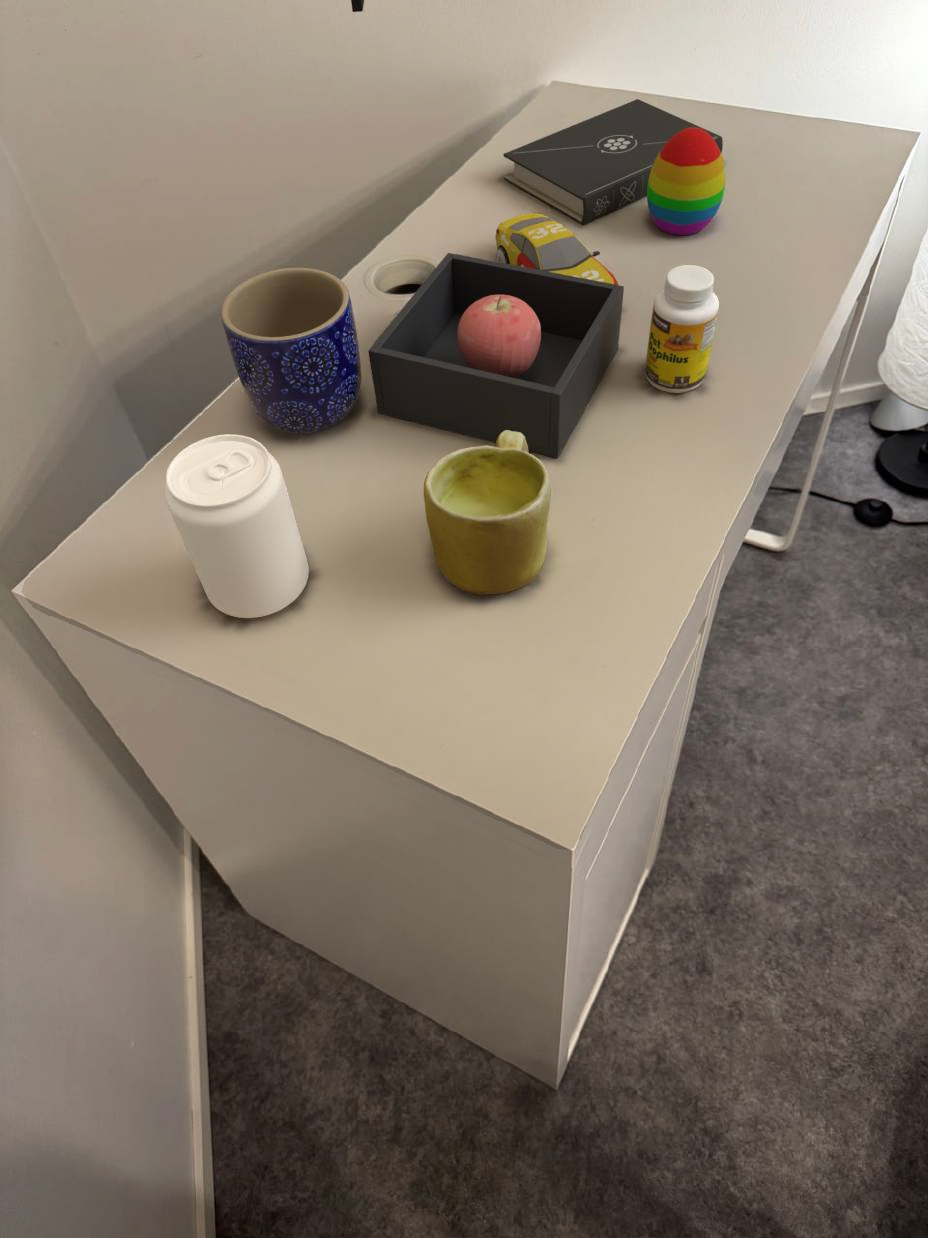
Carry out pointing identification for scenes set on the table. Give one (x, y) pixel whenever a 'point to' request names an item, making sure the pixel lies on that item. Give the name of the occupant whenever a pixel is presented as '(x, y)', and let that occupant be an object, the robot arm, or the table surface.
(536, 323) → the apple
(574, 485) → the table surface
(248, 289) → the planter
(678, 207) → the decorative egg
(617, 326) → the dark grey open box
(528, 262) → the toy car
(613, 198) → the book
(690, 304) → the supplement bottle
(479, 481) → the mug
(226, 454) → the beverage can
